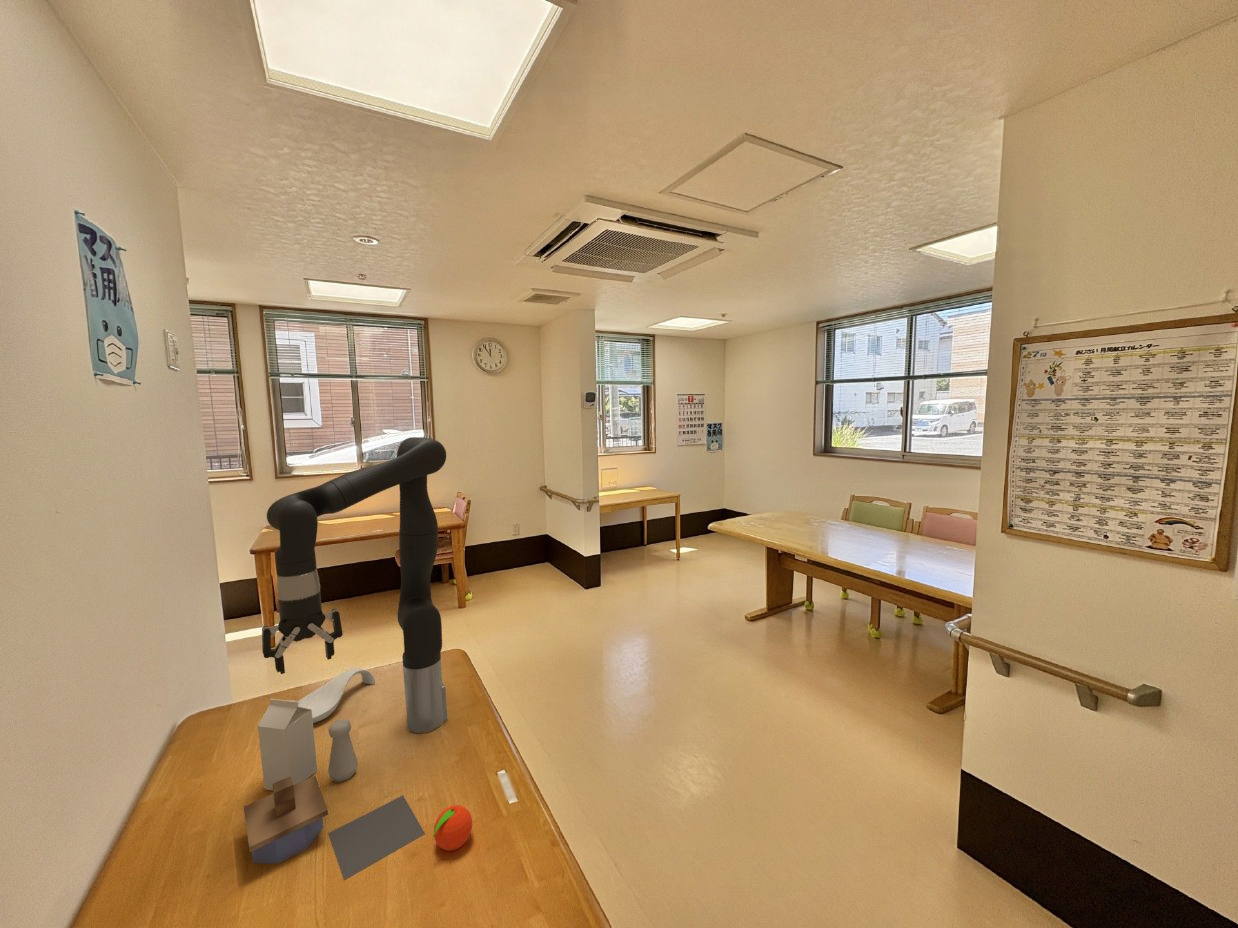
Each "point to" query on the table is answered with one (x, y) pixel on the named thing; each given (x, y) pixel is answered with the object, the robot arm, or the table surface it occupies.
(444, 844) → the clementine
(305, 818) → the lid
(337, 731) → the salt shaker
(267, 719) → the milk carton
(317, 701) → the spoon rest
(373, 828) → the mat
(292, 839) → the bowl
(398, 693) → the table surface
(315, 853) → the table surface
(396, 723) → the table surface
